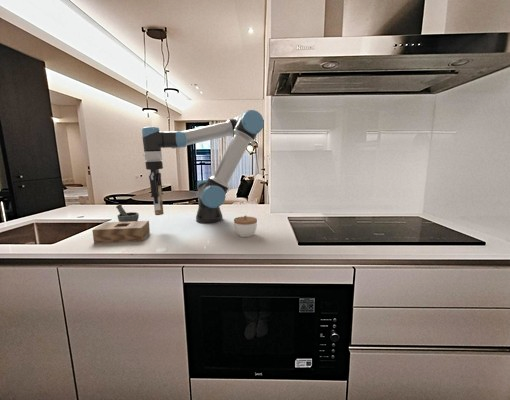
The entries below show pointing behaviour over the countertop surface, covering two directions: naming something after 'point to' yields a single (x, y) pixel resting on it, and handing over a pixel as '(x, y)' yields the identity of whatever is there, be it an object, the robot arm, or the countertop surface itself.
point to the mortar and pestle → (126, 215)
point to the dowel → (160, 212)
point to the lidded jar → (245, 226)
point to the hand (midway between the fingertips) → (158, 208)
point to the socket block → (121, 231)
